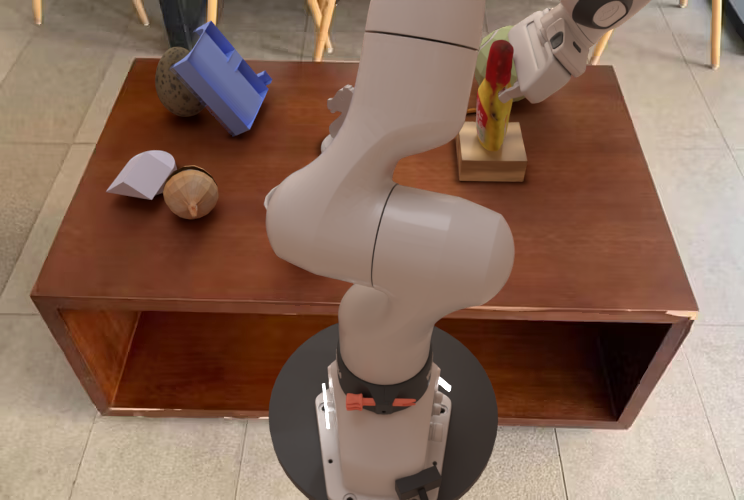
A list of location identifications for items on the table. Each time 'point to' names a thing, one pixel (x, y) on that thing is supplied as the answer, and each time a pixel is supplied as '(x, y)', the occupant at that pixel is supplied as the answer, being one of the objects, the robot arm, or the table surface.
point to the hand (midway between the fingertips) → (497, 83)
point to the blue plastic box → (223, 79)
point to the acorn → (190, 192)
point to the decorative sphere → (484, 52)
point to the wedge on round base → (144, 175)
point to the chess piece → (338, 104)
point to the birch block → (491, 156)
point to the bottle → (494, 97)
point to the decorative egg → (176, 86)
